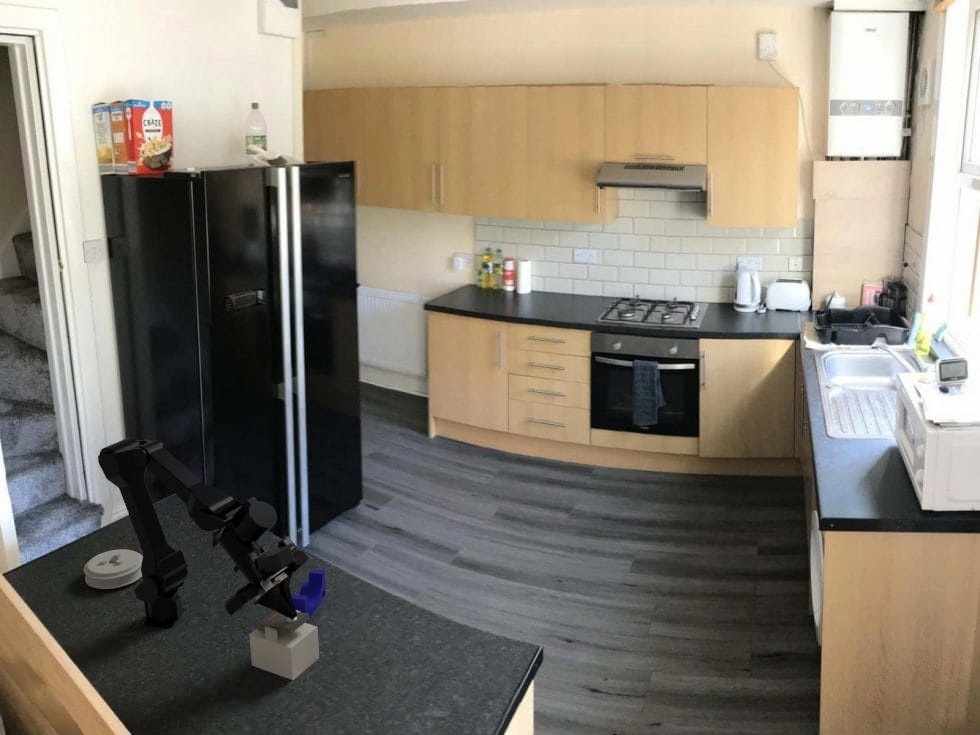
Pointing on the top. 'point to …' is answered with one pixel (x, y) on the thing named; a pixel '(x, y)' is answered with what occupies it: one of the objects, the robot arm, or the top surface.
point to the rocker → (283, 622)
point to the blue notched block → (311, 593)
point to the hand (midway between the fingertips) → (294, 617)
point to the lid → (113, 569)
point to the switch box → (285, 650)
